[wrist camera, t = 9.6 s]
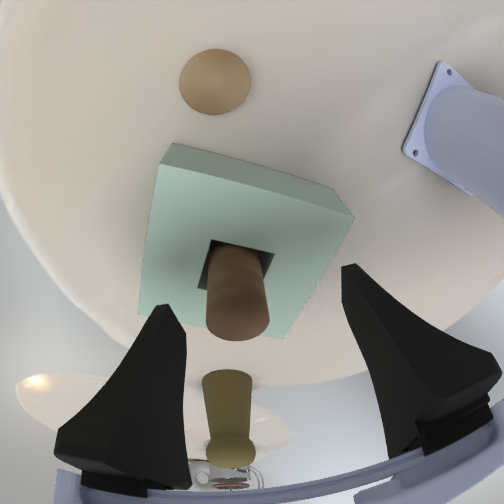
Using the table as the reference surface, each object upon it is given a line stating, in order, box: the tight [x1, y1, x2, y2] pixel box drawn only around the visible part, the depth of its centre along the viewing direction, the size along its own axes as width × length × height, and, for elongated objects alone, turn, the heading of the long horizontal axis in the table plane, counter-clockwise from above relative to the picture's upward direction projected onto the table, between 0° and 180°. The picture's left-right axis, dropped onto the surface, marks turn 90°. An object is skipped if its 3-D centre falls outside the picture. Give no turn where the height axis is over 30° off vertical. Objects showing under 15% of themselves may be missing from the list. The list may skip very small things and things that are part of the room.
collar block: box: [138, 143, 355, 339], centre depth 19 cm, size 11×11×4 cm
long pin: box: [206, 239, 270, 341], centre depth 18 cm, size 3×3×8 cm
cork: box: [202, 370, 256, 468], centre depth 28 cm, size 6×6×11 cm
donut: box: [189, 461, 219, 492], centre depth 53 cm, size 10×3×10 cm, turn 60°
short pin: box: [179, 49, 251, 115], centre depth 13 cm, size 3×3×4 cm
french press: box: [203, 440, 264, 491], centre depth 39 cm, size 10×12×25 cm
